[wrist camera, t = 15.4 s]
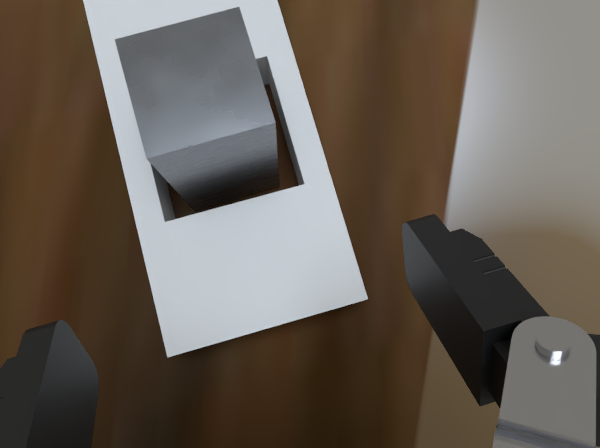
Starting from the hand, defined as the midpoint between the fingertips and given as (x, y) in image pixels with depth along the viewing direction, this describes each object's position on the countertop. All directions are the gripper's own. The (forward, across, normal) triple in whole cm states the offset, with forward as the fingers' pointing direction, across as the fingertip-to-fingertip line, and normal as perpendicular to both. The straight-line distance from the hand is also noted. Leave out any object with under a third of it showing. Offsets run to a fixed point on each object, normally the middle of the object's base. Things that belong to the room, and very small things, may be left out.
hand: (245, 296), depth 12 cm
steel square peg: (+15, 0, +4) cm, 15 cm away
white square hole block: (+15, 0, +4) cm, 15 cm away
